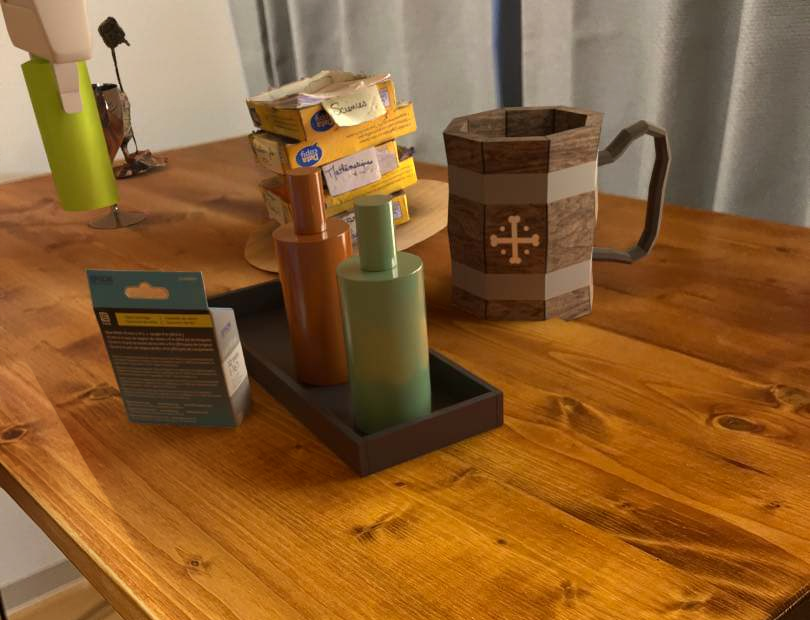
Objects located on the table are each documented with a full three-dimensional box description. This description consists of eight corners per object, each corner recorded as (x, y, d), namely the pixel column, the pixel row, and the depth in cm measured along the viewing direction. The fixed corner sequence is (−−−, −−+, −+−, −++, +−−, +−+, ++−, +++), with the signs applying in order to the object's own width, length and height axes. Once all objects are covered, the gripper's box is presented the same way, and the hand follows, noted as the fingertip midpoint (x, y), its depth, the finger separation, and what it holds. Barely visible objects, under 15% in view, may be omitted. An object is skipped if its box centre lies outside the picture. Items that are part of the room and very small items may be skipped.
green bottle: (378, 446, 59) (353, 220, 50) (340, 415, 63) (311, 200, 54) (447, 421, 61) (436, 199, 52) (407, 392, 65) (389, 182, 56)
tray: (362, 488, 56) (357, 444, 54) (198, 336, 79) (190, 301, 77) (504, 434, 61) (503, 391, 59) (310, 304, 83) (305, 270, 81)
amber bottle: (314, 393, 66) (282, 186, 57) (283, 367, 70) (250, 171, 61) (378, 372, 68) (357, 169, 59) (345, 348, 72) (321, 156, 63)
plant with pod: (95, 171, 134) (53, 21, 122) (169, 161, 136) (135, 12, 124) (93, 184, 128) (50, 27, 116) (171, 172, 130) (136, 17, 118)
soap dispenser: (98, 194, 94) (41, -26, 83) (130, 201, 90) (74, -31, 79) (47, 206, 91) (-20, -21, 80) (78, 214, 87) (11, -26, 76)
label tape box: (258, 412, 66) (226, 250, 59) (238, 439, 63) (201, 271, 56) (152, 407, 68) (108, 249, 61) (127, 433, 65) (78, 270, 58)
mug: (467, 340, 74) (461, 150, 65) (434, 285, 84) (425, 116, 76) (688, 308, 76) (712, 119, 67) (629, 258, 86) (642, 91, 78)
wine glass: (102, 233, 107) (65, 99, 98) (75, 222, 112) (37, 93, 103) (160, 217, 111) (129, 86, 102) (131, 207, 116) (99, 81, 107)
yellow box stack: (257, 294, 86) (224, 109, 76) (234, 224, 106) (205, 70, 96) (495, 256, 90) (492, 75, 80) (430, 196, 110) (422, 44, 100)
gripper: (-36, -62, 83) (11, 99, 91) (2, -64, 69) (54, 127, 77) (32, -67, 86) (72, 90, 94) (83, -70, 71) (125, 116, 79)
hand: (64, 107), depth 85 cm, fingers closed on soap dispenser, 6 cm apart
